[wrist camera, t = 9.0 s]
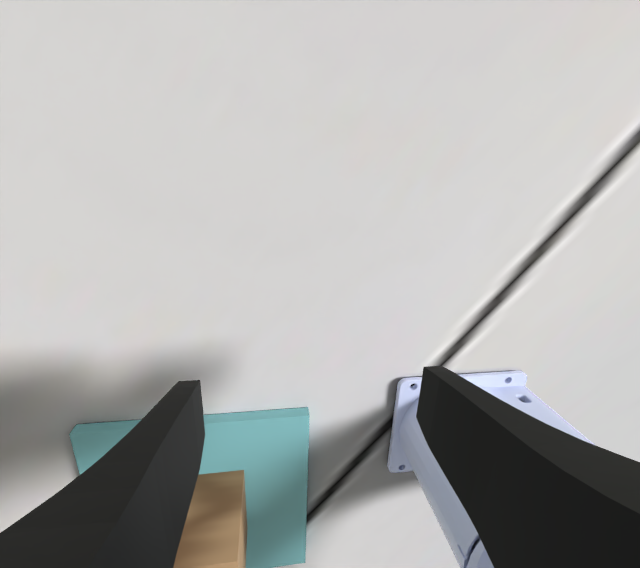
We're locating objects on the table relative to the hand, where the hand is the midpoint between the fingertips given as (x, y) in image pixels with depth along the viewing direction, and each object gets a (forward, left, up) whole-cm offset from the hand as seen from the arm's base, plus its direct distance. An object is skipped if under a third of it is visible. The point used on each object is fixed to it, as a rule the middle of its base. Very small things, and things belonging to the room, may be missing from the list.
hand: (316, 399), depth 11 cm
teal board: (+6, +15, -9) cm, 19 cm away
